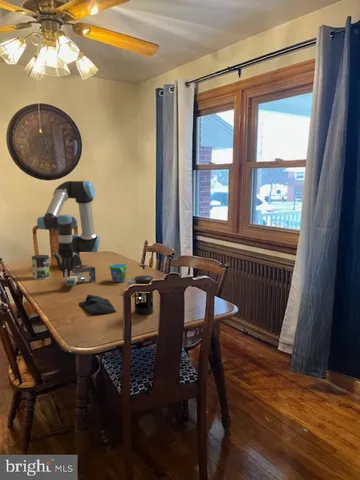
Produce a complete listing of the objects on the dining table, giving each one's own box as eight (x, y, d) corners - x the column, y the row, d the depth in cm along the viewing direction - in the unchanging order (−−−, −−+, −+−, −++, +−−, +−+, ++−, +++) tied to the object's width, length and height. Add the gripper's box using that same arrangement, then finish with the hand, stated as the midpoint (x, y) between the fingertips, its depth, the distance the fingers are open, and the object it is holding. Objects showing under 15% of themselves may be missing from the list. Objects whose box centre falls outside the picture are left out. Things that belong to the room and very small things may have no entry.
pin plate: (79, 277, 242) (79, 274, 242) (90, 280, 235) (90, 277, 235) (64, 281, 234) (64, 277, 233) (75, 284, 227) (75, 280, 227)
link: (73, 275, 237) (73, 265, 236) (83, 275, 237) (82, 265, 236) (64, 286, 212) (64, 275, 211) (75, 286, 213) (75, 275, 212)
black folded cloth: (85, 318, 172) (85, 308, 172) (78, 303, 192) (77, 295, 192) (118, 313, 179) (118, 303, 178) (107, 300, 198) (107, 291, 198)
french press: (130, 310, 182) (129, 263, 178) (148, 307, 186) (147, 261, 183) (140, 317, 172) (139, 268, 168) (158, 314, 176) (158, 266, 173)
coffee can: (52, 276, 247) (51, 255, 244) (44, 280, 237) (43, 258, 234) (38, 275, 249) (37, 254, 246) (29, 279, 239) (28, 257, 236)
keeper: (74, 285, 225) (74, 270, 224) (72, 284, 228) (72, 269, 226) (95, 281, 233) (95, 267, 232) (93, 280, 236) (93, 266, 234)
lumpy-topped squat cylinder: (153, 294, 209) (153, 279, 207) (129, 296, 205) (129, 280, 204) (149, 289, 218) (149, 274, 217) (126, 290, 215) (126, 276, 213)
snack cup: (106, 279, 239) (106, 263, 238) (122, 277, 244) (122, 262, 242) (113, 285, 225) (113, 268, 224) (130, 283, 230) (130, 267, 228)
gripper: (52, 243, 208) (53, 284, 212) (76, 243, 210) (77, 284, 213) (55, 241, 216) (56, 280, 219) (78, 241, 217) (79, 280, 221)
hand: (66, 282), depth 216 cm, fingers closed
